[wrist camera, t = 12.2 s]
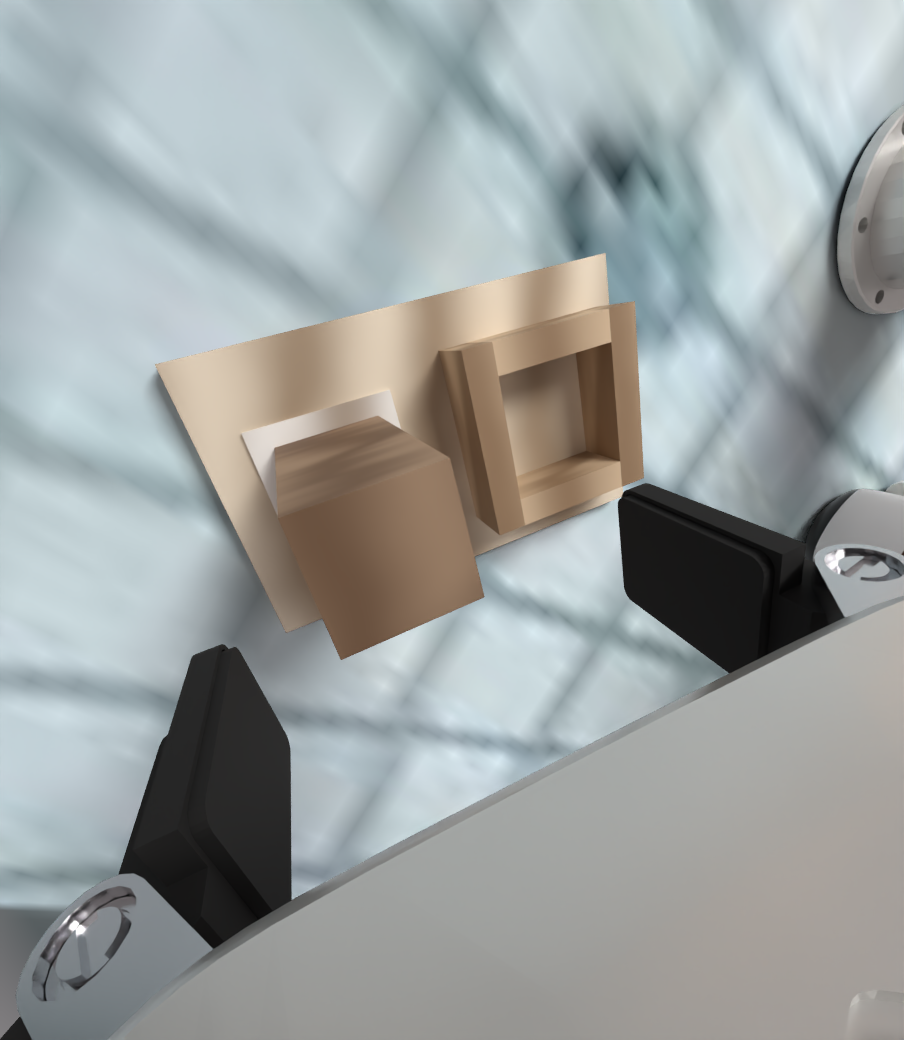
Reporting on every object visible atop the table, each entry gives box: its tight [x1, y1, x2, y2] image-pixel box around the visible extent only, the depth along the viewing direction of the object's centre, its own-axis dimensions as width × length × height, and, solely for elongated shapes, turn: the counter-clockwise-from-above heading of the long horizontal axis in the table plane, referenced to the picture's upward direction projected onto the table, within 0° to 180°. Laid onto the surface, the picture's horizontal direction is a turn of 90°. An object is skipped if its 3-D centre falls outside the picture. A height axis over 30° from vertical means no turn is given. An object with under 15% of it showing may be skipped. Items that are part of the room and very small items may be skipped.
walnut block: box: [275, 416, 484, 660], centre depth 18 cm, size 5×5×10 cm
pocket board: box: [155, 253, 644, 633], centre depth 23 cm, size 22×14×4 cm, turn 104°
